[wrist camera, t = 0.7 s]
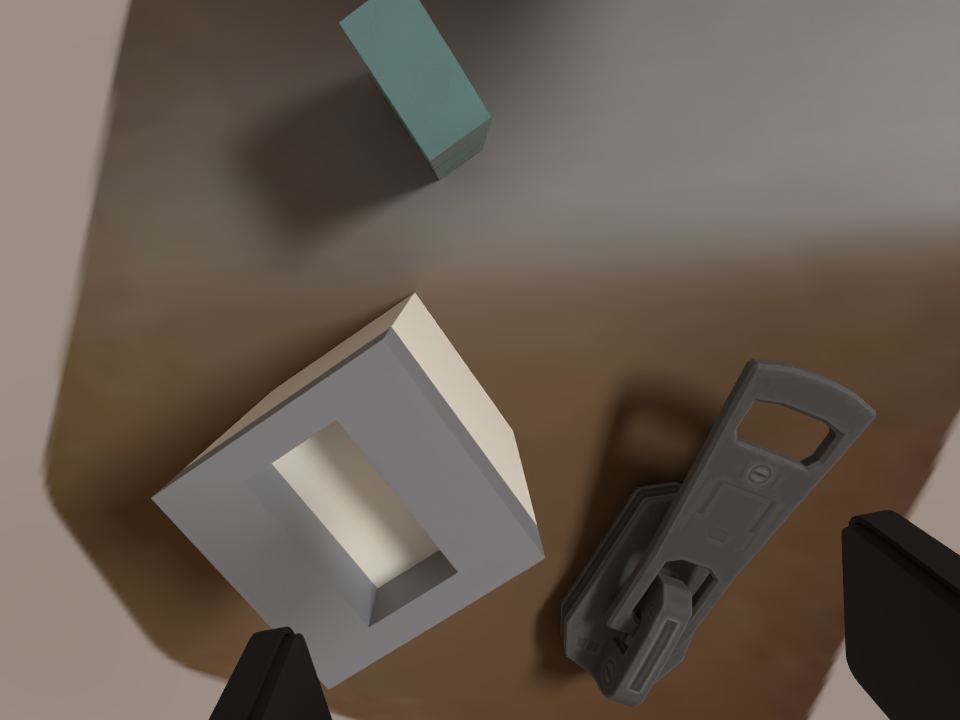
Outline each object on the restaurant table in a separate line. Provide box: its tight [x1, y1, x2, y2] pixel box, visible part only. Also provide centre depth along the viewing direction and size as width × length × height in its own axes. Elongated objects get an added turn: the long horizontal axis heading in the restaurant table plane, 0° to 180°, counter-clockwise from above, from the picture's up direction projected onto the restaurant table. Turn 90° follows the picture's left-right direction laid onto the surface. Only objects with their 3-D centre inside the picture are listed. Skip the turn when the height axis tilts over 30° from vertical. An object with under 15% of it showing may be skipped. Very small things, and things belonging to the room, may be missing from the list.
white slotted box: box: [151, 292, 545, 689], centre depth 28 cm, size 11×11×14 cm
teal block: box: [339, 0, 491, 180], centre depth 26 cm, size 3×6×10 cm, turn 34°
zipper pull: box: [560, 359, 876, 706], centre depth 35 cm, size 9×7×25 cm
